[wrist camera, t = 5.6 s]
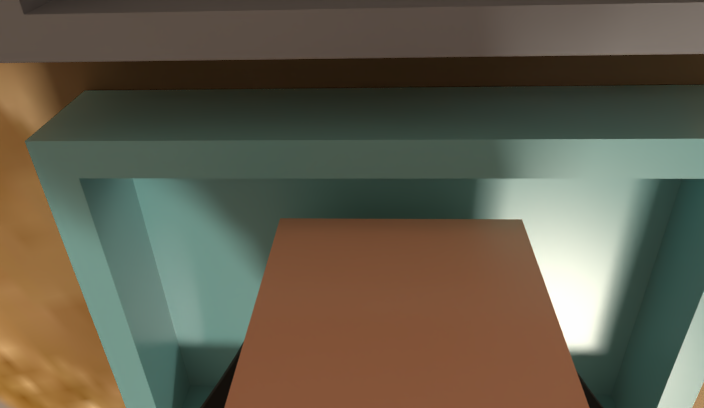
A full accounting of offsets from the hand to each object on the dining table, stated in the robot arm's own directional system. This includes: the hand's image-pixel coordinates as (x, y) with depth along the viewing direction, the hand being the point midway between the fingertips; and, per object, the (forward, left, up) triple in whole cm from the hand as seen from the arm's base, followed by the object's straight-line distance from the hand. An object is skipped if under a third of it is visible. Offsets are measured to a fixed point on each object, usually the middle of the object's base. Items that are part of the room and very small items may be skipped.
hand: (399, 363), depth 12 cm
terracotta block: (0, 0, -1) cm, 1 cm away
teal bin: (0, 0, -3) cm, 3 cm away
